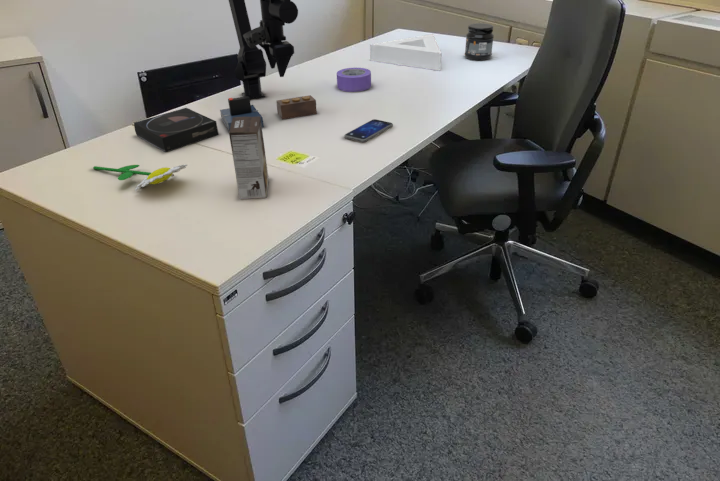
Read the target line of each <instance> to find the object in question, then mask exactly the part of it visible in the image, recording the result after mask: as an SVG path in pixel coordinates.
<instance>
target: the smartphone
mask: <svg viewBox="0 0 720 481" xmlns="http://www.w3.org/2000/svg"><path fill="white" fill-rule="evenodd" d="M393 126H394V124H393V122H390V121H386V120H381V119H377V118H376V119H375V118H373V119H371V120H369V121H367V122H365V123H364V124H362V125H360V126H357V127H356V128H354V129H352V130H351V131H348V132H347V133H345V134H344V138H345V139H348V140H352V141H357V142H359V143H366V142H368V141H370V140H372V139H373V138H375V137H376V136H378V135H380V134H382V133H383V132H385V131H387V130H388V129H390V128H392V127H393Z"/></svg>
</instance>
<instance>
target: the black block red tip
mask: <svg viewBox="0 0 720 481" xmlns="http://www.w3.org/2000/svg"><path fill="white" fill-rule="evenodd" d="M227 102H228V108H229V109H230V114H231V116H234V115H240V114H246V113H252V111H251V105H252V104H251V99H250V98H249V96H245V97H244V96H239V97H228V99H227Z"/></svg>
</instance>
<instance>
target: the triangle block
mask: <svg viewBox="0 0 720 481" xmlns="http://www.w3.org/2000/svg"><path fill="white" fill-rule="evenodd" d="M369 61H370V62H374V63H375V62H376V63H383V64H390V65H396V66H404V67H411V68H417V69H423V70H425V69H426V70H433V71H439V72H440V71H441V67H442V51H441V49H440V46H439V44H438V41H437V40H436V37H435V35H434V33H432V34H425V35H417V36H413V37H406V38H400V39H394V40H388V41H381V42H376V43H375V42H374V43H370V44H369Z"/></svg>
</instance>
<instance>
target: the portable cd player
mask: <svg viewBox="0 0 720 481" xmlns="http://www.w3.org/2000/svg"><path fill="white" fill-rule="evenodd" d="M217 124H218V123H217V120H215V119H212V118H210V117H208V116H206V115H203V114H201V113H199V112H197V111H195V110H192V109H190V108H188V107H183V108H180V109H176V110H173V111H170V112H166V113H163V114H162V113H161V114H159V115H156V116H152V117H148V118H144V119H142V120H138V121H135V122H133V127H134V132H135V134H136V137H137V138H139V139H141V140H143V141H144V142H146V143H148V144H150V145H152V146H153V147H155V148H158V150H160V151H162V152H165V153H168V152H171V151H174V150H177V149H180V148H183V147H186V146H189V145H191V144H195V143H199V142H201V141H204V140H207V139H209V138H213V137H216V136H219V129H218V125H217Z"/></svg>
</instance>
